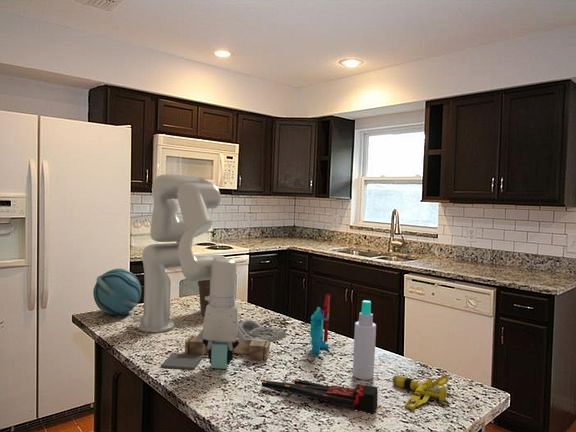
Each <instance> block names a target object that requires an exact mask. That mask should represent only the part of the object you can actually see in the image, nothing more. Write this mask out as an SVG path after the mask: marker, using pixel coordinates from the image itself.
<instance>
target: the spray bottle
mask: <svg viewBox="0 0 576 432" xmlns="http://www.w3.org/2000/svg"><path fill="white" fill-rule="evenodd" d="M371 307H372V302H371V300H365V299H364V300H362V302H361V311H360V312H359V313H358V315H359V316H358V321H355V322H354V335H353V336H354V338H353V339H354V340H353V356H352V358H353V361H352V376H353V377H354V378H356V379H358V380H362V381H366V380H367V381H368V380H371V379H373V378H374V376H375V375H374V374H375V353H376V339H377V338H376V337H377V333H376V332H377V324H376V323H375V322H373V321H374V320H373V319H374V314H373V313H371V312H372V311H371V309H372V308H371Z"/></svg>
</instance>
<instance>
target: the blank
mask: <svg viewBox="0 0 576 432" xmlns="http://www.w3.org/2000/svg"><path fill="white" fill-rule="evenodd" d="M228 348H229V347H228V342H223V341H214V342H213V343H212V352H211V363H210V368H212V369H224V370H225V369H227V368H228V366H229V365H230V364H227V351H228Z"/></svg>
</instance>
